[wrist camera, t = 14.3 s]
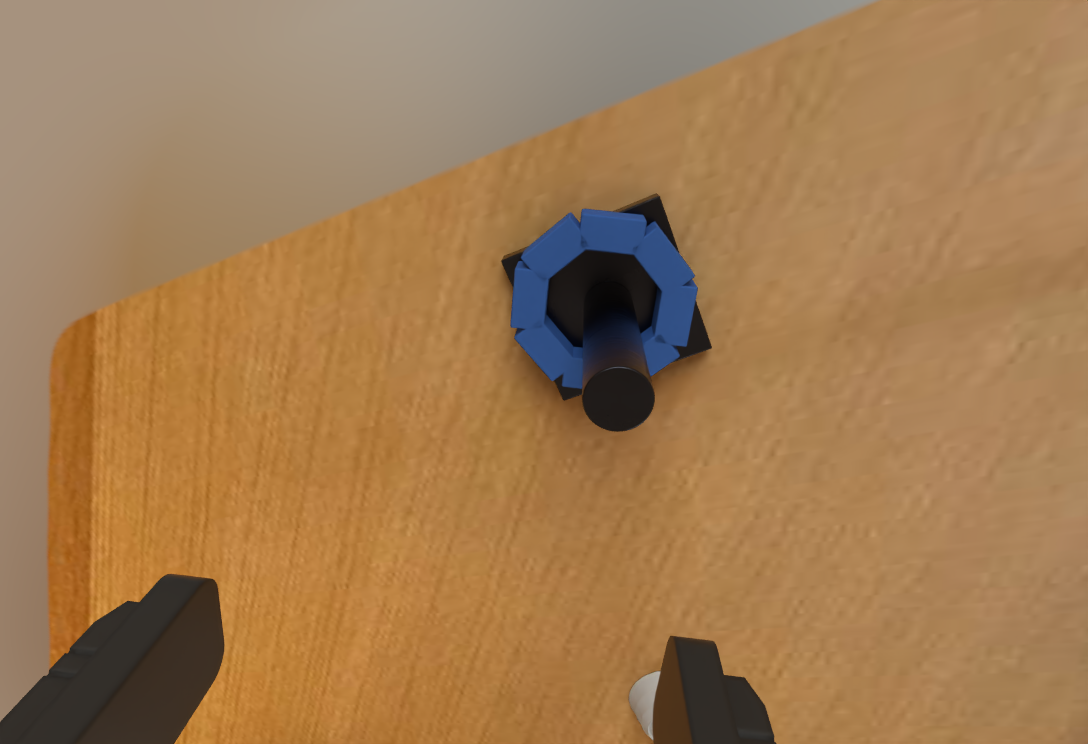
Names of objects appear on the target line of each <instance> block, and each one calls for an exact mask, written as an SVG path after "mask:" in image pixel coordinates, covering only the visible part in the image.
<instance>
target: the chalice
mask: <svg viewBox="0 0 1088 744" xmlns="http://www.w3.org/2000/svg"><path fill="white" fill-rule="evenodd" d="M660 672H661V671H658V672H654V673H651V674H648V675H646V676H644V677H642V678H641V679H640V680H638V681H637V682H636V683H635V684H634V686H633V687H632V689H631V690H630V695H629V702H630V706H631V709H632V710H633V711H634V713H635V714H636V716H637V719H638V721H639V722H640V724H641V725H642V728H643V730H644V731H645V733H646V734H647V735H648V736H649V737H650V738H651V739H652V740H653V728H652V720H653V705H654V698H655V693H656V689H657V685H658V681H659V676H660Z"/></svg>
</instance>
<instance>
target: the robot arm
mask: <svg viewBox="0 0 1088 744" xmlns="http://www.w3.org/2000/svg"><path fill="white" fill-rule="evenodd" d="M223 654H224V636H223V628H222V619H221V611H220V603H219V594H218V587H217V584H216V582H215V580H213V579H210V578H201V577H193V576H185V575H176V574H167V575H165V576H164V577H162V578H161V579H160V580H159V581H158V582H157V583H156V584H155V585H154V587H153V588H152V589H151V590H150V591H149V592H148V593H147V594H146V595H145V597H144V598H143V599H142V600H141V601H140V602H132V601H127V602H125V603H124V604H122V605H121V606H119V607H117V608H116V609H114V610H113V611H111V612H110V613H108V614H106V615H105V616H103V617H102V618H100V619H99V620H97V621H95V622H94V623H93V624H92V625H91V626H90V627H89V628H88V630H87V631H86V632H85V633H84V634H83V635H82V636H81V637H80V638H79V639H78V640H77V641H76V642H75V643H74V644H73V645H72V646H71V648H70V651H69V653H68V654H66V653H65V654H64V655H63V656H62V657H61V658H60V659H59V660H58V661H57V662H56V663H55V664H54V666H53V667H52V668H51V669H50V670H49V674H48V675H47V676H43V677H42V678H41V679H40V680H39V681H38V682H37V684H36V685H35V686H34V687H33V688H32V689H31V690H30V691H29V692H28V693H27V694H26V695H25V696H24V697H23V698H22V699H21V700H20V702H19V703H18V704H17V705H16V706H15V707H14V708H13V709H12V710H11V711H10V712H9V713H8V714H7V715H6V716H5V717H4V718H3V720H2V721H1V722H0V744H174V743H175V741H176V740H177V738H178V737H179V735H180V734H181V732H182V730H183V729H184V727H185V726H186V724H187V723H188V721H189V719H190V718H191V716H192V715H193V713H194V712H195V710H196V709H197V707H198V705H199V704H200V702H201V701H202V699H203V698H204V696H205V694H206V693H207V691H208V690H209V688H210V687H211V685H212V683H213V682H214V680H215V678H216V676H217V674H218V671H219V669H220V666H221V663H222V659H223ZM652 728H653V742H654V744H776V743H775V742H774V734H773V731H772V728H771V724H770V721H769V718H768V714H767V711H766V708H765V705H764V704H763V702H762V701H761V700H760V698H759V697H758V695H757V694H756V693H755V691H754V690H753V689H752V687H751V686H750V684H749V683H748V682H747V680H746V679H745V678H744V677H736V676H728V675H724V674H723V670H722V666H721V662H720V658H719V653H718V650H717V646H716V644H715V643H714V641H710V640H702V639H693V638H685V637H677V636H670V638H669V640H668V642H667V646H666V651H665V655H664V659H663V663H662V668H661V672H660V676H659V681H658V685H657V689H656V693H655V698H654V705H653V720H652Z"/></svg>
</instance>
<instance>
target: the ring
mask: <svg viewBox="0 0 1088 744" xmlns="http://www.w3.org/2000/svg"><path fill="white" fill-rule="evenodd" d="M646 225H647V221H646V219H645V217H644V215H639V214H629V213H620V212H611V211H601V210H592V209H582V212H581V221H580V223H579V222H578V220H577V219H576V218H575V217H574V215H573V214H572V213H569V214H567V215H566V216H565V217H564V218H563V219H561V220H560V221H559V222H558V223H557V224H555V225H554V226H553V227H552V228H550V229H549V230H548V231H547V232H546V233H544V234H543V235H542V236H541V237H539V238H538V239H537V240H536V241H535V242H533V243H532V244H531V245H530V246H529V247H527V248H526V249H525V250H524V252H523V254H522V256H521V259H522V260H523V261H518V263H517V266H516V268H515V274H514V287H513V299H512V312H511V325H510V326H511V327H512V328H517V331H516V334H515V337H514V338H515V340H516V341H517V342H518V343H519V344H520V345H521V347H522V348H523V349H524V350H525V351H526V352H527V353H528V355H529V356H530V357H531V358H532V359H533V360H534V361H535V363H536V364H537V365H538V366H539V367H540V368H541V369H542V371H543V372H544V373H545V374H546V375H547V376H548V377H549V379H550V380H551V381H554V380H555V379H556V378H558V377H559V376H560V375H562V374H563V378H562V386H563V387H571V388H580V389H582V379H583V348H581V347H573V345H572V344H571V343H570V342H569V341H568V340H567V338H566V337H565V336H564V335H563V334H562V332H561V331H560V330H559V329H558V328H557V327H556V325H555V324H554V323H553V322H552V321H551V319H550V318H549V317H548V316H547V315H546V312H547V302H548V292H549V282H550V278H551V277H552V276H554V275H555V274H556V273H557V272H559V271H560V270H561V269H563V268H564V267H565V266H566V265H568V264H569V263H570V262H571V261H573V260H574V259H575V258H576V257H578V256H579V255H580V254H581V253H583V252H584V251H585V250H591V251H600V252H609V253H619V254H628V255H634V257H635V258H636V259H637V260H638V262H639V263H640V264H641V266H642V267H643V268H644V269H645V271H646V272H647V273H648V275H649V276H650V277H651V278H652V280H653V281H654V282H655V284H656V285H657V286H658V289H657V295H656V301H655V306H654V312H653V318H652V324H651V327H649V328H648V329H646V330H645V331H644V332H642V333H641V338H642V342H643V347H644V351H645V355H646V359H647V364H648V368H649V372H650V376H652V375H654V374H655V373H657V372H658V371H660V370H661V369H662V368H664V367H665V366H667V365H668V364H670V363H671V362H673V361H674V360H675V359H677V358H678V357H679V356H680V355H679V352H678V350H677V347H676V346H683V347H686V346H687V342H688V337H689V332H690V326H691V321H692V316H693V311H694V306H695V300H696V295H697V290H698V288H697V286H696V285H695V283H694V281H693V280H692V278H694V277H695V275H694V273H693V272H692V270H691V269H690V267H689V266H688V265H687V263H686V262H685V261H684V259H683V258H682V257H681V255H680V254H679V253H678V251H677V250H676V249H675V247H674V246H673V245H672V243H671V242H670V241H669V239H668V238H667V237H666V235H665V234H664V233H663V231H662V230H661V229H660V227H659V226H658V225H657V223H656V222H652V223H651V224H650V225H648V226H647V227H646Z"/></svg>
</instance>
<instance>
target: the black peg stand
mask: <svg viewBox="0 0 1088 744" xmlns="http://www.w3.org/2000/svg"><path fill="white" fill-rule="evenodd" d="M613 212H620V213H629V214H639V215H644V217H645V219H646V221H647V225H646V227H647V226H648V225H650V224H651V223H652V222H656V223H657V225H658V226H659V227H660V229H661V230H662V231H663V233H664V234H665V235H666V237H667V238H668V239H669V241H670V242H671V243H672V245H673V246H674V247H675V249H676V250H677V251H678V248H677V245H676V242H675V239H674V236H673V233H672V230H671V227H670V225H669V222H668V219H667V216H666V213H665V210H664V207H663V204H662V201H661V199H660V196H659V195H658V194H654V195H651V196H649V197H647V198H644V199H642V200H639V201H637V202H634V203H632V204H630V205H627V206H625V207H622V208H620V209H617V210H615V211H613ZM528 247H529V246H528ZM526 248H527V247H525V248H523V249H520V250H518V251H515V252H513V253H511V254H508V255H506V256H504V257H503V259H502V260H501V262H502V264H503V266H504V269H505V271H506V273H507V275H508V278H509V280H510V282H511V284H512V287H514V274H515V268H516V266H517V263H518V261H523V260H522V259H521V256H522V254H523V252H524V250H525V249H526ZM678 253H679V251H678ZM657 289H658V286H657V285H656V284H655V282H654V281H653V280H652V278H651V277H650V276H649V275H648V273H647V272H646V271H645V269H644V268H643V267H642V266H641V264H640V263H639V262H638V260H637V259H636V258H635V257H634V255H628V254H619V253H609V252H600V251H591V250H585V251H584V252H583V253H581V254H580V255H579V256H578V257H576V258H575V259H574V260H573V261H571V262H570V263H569V264H568V265H566V266H565V267H564V268H563V269H561V270H560V271H559V272H557V273H556V274H555V275H554V276H552V277H551V278H550V282H549V292H548V302H547V312H546V315H547V316H548V317H549V318H550V319H551V321H552V322H553V323H554V324H555V325H556V327H557V328H558V329H559V330H560V331H561V332H562V334H563V335H564V336H565V337H566V338H567V340H568V341H569V342H570V343H571V344H572V345H573V347H581V348H583V379H582V389H580V388H571V387H563V386H562V378H563V374H562V375H560V376H559V377H558V378H556V379H555V380H554V381H555V383H556V385H557V387H558V390H559V392H560V394H561V396H562V399H563V400H567V399H570V398H573V397H576V396H579V395H581V394H582V403H583V408H584V411H585V413H586V415H587V416H588V417H589V419H590V420H591V421H592V422H593V423H595V424H596V425H597V426H599V427H601V428H603V429H606V430H609V431H616V432H619V431H627V430H631V429H633V428H635V427H637V426H639V425H640V424H642V423H643V422H644V421H645V420H646V419H647V418H648V417H649V415H650V414H651V412H652V409H653V407H654V402H655V395H654V389H653V385H652V381H651V376H650V372H649V368H648V364H647V359H646V355H645V351H644V347H643V342H642V338H641V333H642V332H644V331H645V330H646V329H648V328H649V327H651V324H652V318H653V312H654V306H655V301H656V295H657ZM676 347H677V350H678V352H679V355H680V356H679V357H678V358H677V359H675V360H674V361H677V360H680V359H683V358H686V357H689V356H691V355H694V354H697V353H700V352H703V351H705V350H708V349H711V348H712V346H711V343H710V340H709V338H708V335H707V332H706V329H705V326H704V323H703V320H702V317H701V314H700V311H699V309H698V306H697V303H696V300H695V306H694V311H693V316H692V321H691V326H690V332H689V337H688V342H687V346H686V347H683V346H676ZM674 361H673V362H674ZM671 363H672V362H671Z"/></svg>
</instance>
